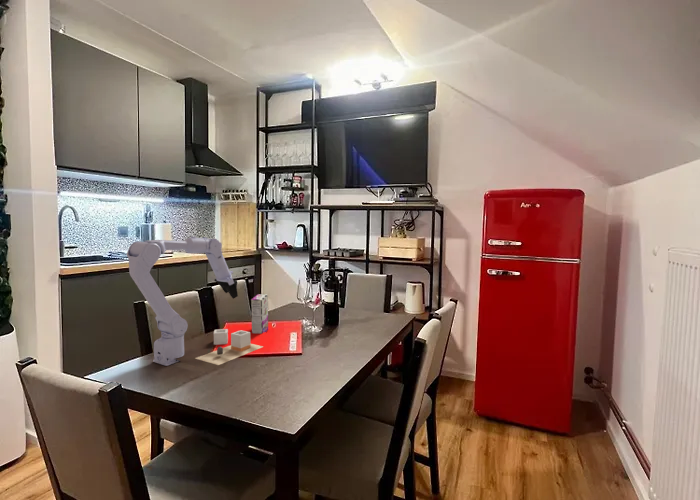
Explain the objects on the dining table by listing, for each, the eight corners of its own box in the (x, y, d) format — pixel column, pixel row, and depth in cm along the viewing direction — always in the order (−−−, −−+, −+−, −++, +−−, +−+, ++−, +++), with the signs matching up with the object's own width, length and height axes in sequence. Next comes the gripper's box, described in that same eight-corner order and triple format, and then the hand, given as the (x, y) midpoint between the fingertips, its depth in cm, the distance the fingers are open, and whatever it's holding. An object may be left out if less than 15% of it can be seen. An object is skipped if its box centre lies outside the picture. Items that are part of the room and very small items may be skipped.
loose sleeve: (227, 347, 151) (227, 332, 150) (213, 348, 150) (213, 333, 149) (228, 343, 156) (227, 328, 155) (215, 344, 154) (214, 329, 154)
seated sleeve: (240, 351, 142) (240, 335, 142) (231, 349, 145) (231, 333, 144) (250, 347, 147) (250, 332, 146) (241, 345, 149) (240, 330, 149)
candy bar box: (257, 329, 176) (257, 294, 174) (268, 329, 176) (268, 294, 174) (250, 336, 165) (250, 299, 163) (262, 337, 165) (262, 299, 163)
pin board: (218, 369, 129) (218, 355, 129) (194, 362, 135) (194, 348, 135) (263, 350, 148) (263, 337, 148) (241, 344, 154) (241, 332, 154)
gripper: (235, 265, 148) (247, 294, 154) (221, 257, 159) (233, 285, 165) (218, 274, 145) (231, 303, 150) (205, 265, 156) (218, 293, 161)
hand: (231, 294), depth 157 cm, fingers open, 7 cm apart
